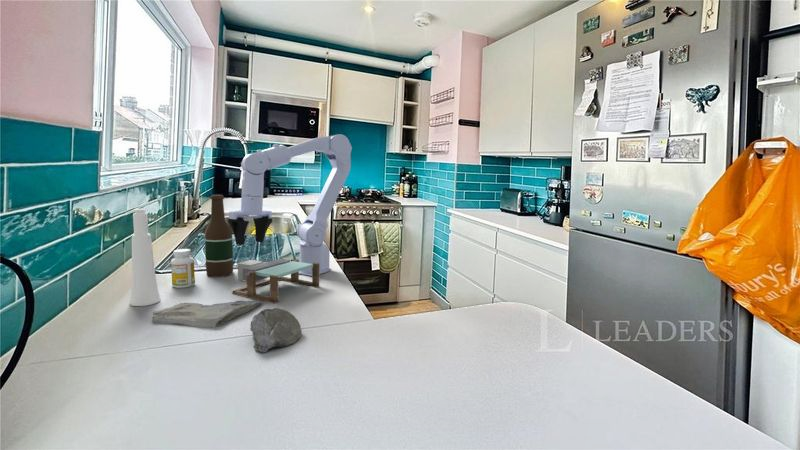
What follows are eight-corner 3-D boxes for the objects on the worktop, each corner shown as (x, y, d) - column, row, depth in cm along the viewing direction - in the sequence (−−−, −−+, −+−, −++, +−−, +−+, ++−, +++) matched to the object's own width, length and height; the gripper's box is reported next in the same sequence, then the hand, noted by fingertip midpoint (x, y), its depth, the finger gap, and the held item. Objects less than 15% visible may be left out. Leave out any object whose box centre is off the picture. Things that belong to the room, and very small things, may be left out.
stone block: (251, 276, 115) (251, 259, 114) (264, 278, 113) (263, 261, 112) (238, 279, 110) (237, 263, 110) (250, 282, 108) (250, 265, 108)
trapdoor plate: (280, 268, 110) (280, 258, 110) (313, 274, 105) (313, 263, 105) (241, 280, 98) (241, 268, 97) (276, 287, 93) (276, 275, 92)
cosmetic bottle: (159, 296, 94) (154, 207, 91) (161, 303, 89) (156, 209, 86) (129, 300, 90) (123, 208, 88) (129, 308, 86) (123, 210, 83)
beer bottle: (225, 269, 121) (222, 193, 118) (238, 273, 117) (236, 195, 114) (200, 274, 115) (197, 194, 112) (214, 278, 111) (211, 195, 107)
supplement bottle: (187, 281, 107) (185, 247, 106) (199, 284, 105) (197, 249, 103) (167, 286, 102) (166, 250, 101) (180, 289, 100) (178, 253, 99)
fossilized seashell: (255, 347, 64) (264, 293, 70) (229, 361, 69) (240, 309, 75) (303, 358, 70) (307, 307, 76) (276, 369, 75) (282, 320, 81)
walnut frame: (281, 277, 113) (281, 256, 112) (321, 285, 107) (321, 262, 106) (229, 294, 97) (229, 269, 96) (272, 304, 91) (272, 277, 90)
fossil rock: (145, 325, 78) (145, 314, 78) (193, 302, 93) (192, 292, 93) (226, 330, 76) (226, 319, 76) (261, 306, 91) (261, 296, 91)
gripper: (259, 195, 117) (257, 239, 118) (221, 194, 103) (218, 243, 104) (278, 197, 114) (275, 242, 115) (241, 196, 101) (238, 247, 102)
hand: (249, 243), depth 110 cm, fingers open, 7 cm apart
